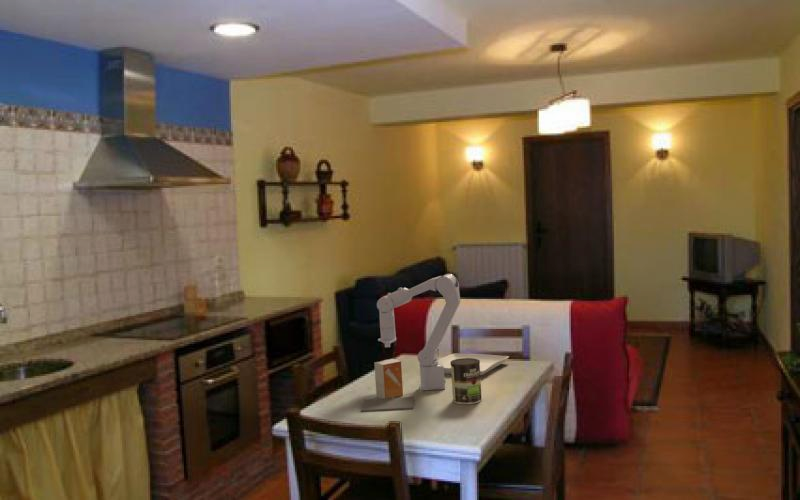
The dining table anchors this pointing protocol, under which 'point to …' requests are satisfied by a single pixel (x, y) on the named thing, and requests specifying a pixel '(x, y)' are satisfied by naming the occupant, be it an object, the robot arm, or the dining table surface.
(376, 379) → the small box
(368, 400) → the mat
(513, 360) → the dining table surface
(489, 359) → the square plate
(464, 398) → the coffee can
